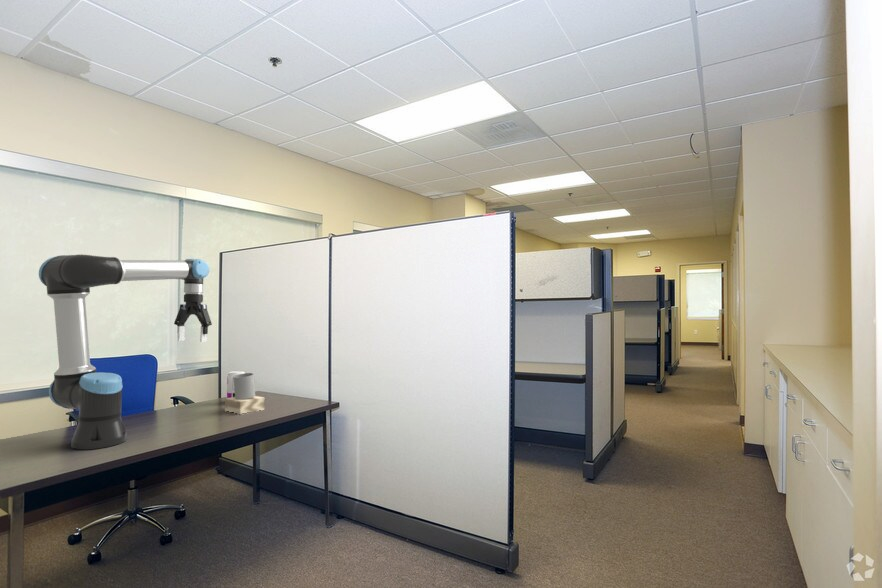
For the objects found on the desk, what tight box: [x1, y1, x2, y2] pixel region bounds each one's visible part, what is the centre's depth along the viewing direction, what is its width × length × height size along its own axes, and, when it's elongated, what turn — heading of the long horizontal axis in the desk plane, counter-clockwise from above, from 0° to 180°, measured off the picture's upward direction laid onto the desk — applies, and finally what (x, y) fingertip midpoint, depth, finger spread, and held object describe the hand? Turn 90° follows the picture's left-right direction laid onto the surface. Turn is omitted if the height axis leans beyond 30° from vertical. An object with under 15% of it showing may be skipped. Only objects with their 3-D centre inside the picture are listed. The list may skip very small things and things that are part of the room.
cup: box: [233, 372, 256, 400], centre depth 205 cm, size 8×8×10 cm
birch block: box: [224, 395, 266, 415], centre depth 205 cm, size 12×12×6 cm
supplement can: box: [226, 370, 246, 398], centre depth 221 cm, size 8×8×15 cm
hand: (192, 341), depth 202 cm, fingers open, 13 cm apart
